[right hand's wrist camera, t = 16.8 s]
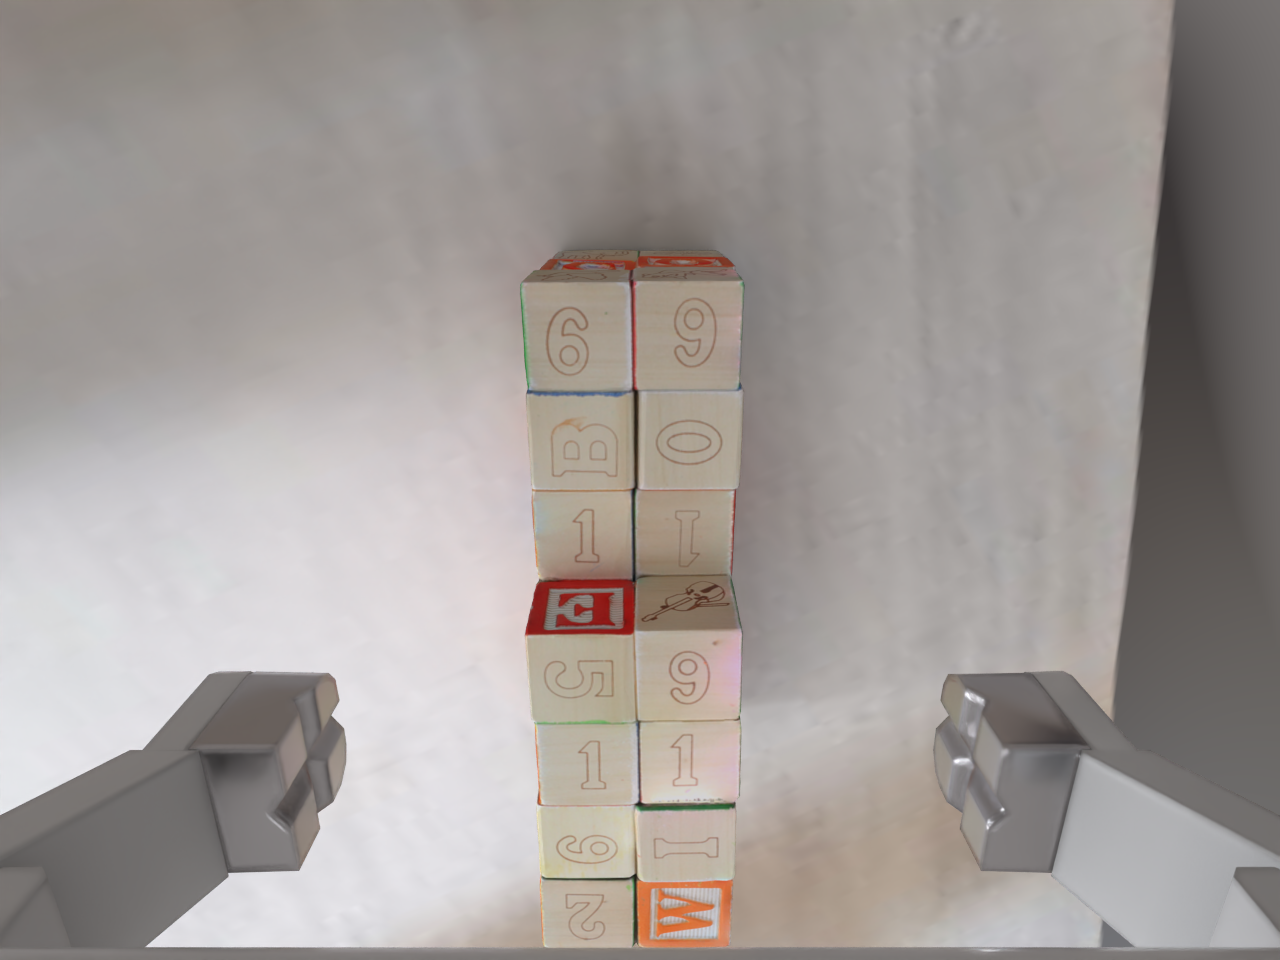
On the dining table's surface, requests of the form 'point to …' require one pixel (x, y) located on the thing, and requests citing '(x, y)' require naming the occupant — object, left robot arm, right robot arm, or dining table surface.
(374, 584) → the dining table surface
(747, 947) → the right robot arm
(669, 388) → the stack of blocks
